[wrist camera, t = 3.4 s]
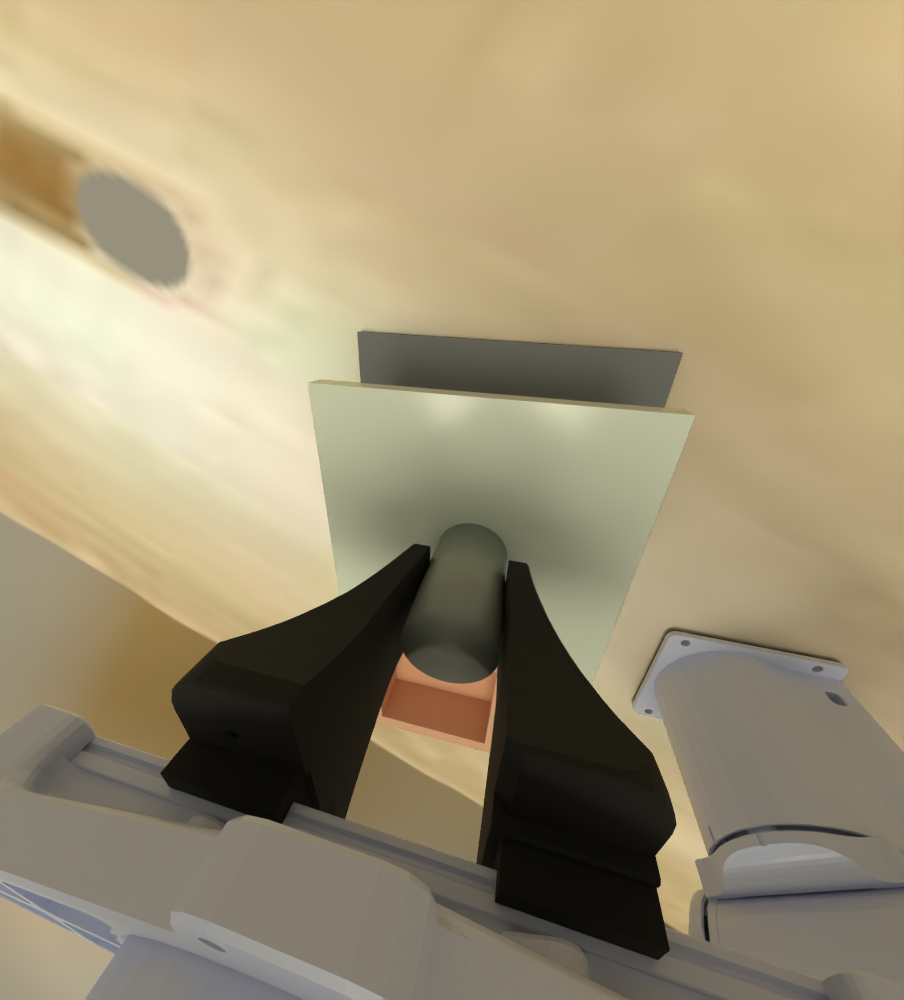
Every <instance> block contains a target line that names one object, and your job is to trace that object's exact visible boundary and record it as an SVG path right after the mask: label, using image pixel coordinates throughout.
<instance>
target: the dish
mask: <svg viewBox="0 0 904 1000" xmlns="http://www.w3.org/2000/svg"><path fill="white" fill-rule="evenodd" d="M496 692H497V668H496V669H495V671H494V672H493V673H492V674H491V675H490V676H488V677H487V678H485V679H483V680H480V681H477V682H473V683H466V684H457V683H449V682H444V681H440V680H437V679H435V678H432V677H430V676H428V675H426V674H424V673H423V672H421V671H420V670H418V669H417V668H416V667H414V666H413V665H412V664H411V663H410V662H409V660H408V659H407V658H406V656H405V655H404V653H403V654H402V656H401V658H400V660H399V662H398V664H397V666H396V669H395V671H394V673H393V676H392V678H391V681H390V684H389V686H388V689H387V692H386V695H385V697H384V700H383V703H382V706H381V709H380V712H379V715H378V717H377V720H376V722H378V723H382V724H386V725H389V726H393V727H397V728H400V729H404V730H408V731H411V732H415V733H419V734H422V735H426V736H430V737H433V738H437V739H441V740H444V741H448V742H452V743H455V744H459V745H463V746H466V747H470V748H474V749H478V750H481V751H485V752H489V753H490V749H491V740H492V732H493V723H494V715H495V706H496Z"/></svg>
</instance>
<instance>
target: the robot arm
mask: <svg viewBox="0 0 904 1000" xmlns="http://www.w3.org/2000/svg"><path fill="white" fill-rule="evenodd" d="M429 562H430V546H426V545H421V544H413V545H412V546H410V547H409V548H408V549H407V550H405V551H404V552H403V553H402V554H400V555H399V556H398V557H396V558H395V559H394V560H393V561H391V562H390V563H389V564H387V565H386V566H385V567H383V568H382V569H381V570H379V571H378V572H377V573H375V574H374V575H372V576H371V577H369V578H368V579H366V580H365V581H363V582H362V583H360V584H359V585H357V586H356V587H354V588H353V589H351V590H349V591H348V592H346V593H344V594H342V595H341V596H339V597H337V598H335V599H333V600H331V601H329V602H327V603H325V604H323V605H321V606H319V607H317V608H314V609H312V610H310V611H308V612H306V613H304V614H301V615H299V616H297V617H294V618H292V619H289V620H287V621H284V622H282V623H279V624H276V625H273V626H271V627H268V628H265V629H262V630H259V631H256V632H252V633H249V634H246V635H242V636H239V637H236V638H233V639H229V640H226V641H222V642H219V643H218V644H217V645H216V646H215V647H214V648H213V649H212V650H211V651H210V652H209V653H208V654H207V655H205V656H204V657H203V658H202V659H201V660H200V661H199V662H198V663H197V664H196V665H195V666H194V667H193V668H192V669H191V670H190V671H189V672H188V673H187V674H186V675H185V676H184V677H183V678H182V679H181V680H180V681H179V682H178V683H177V684H176V685H175V686H174V688H173V689H172V703H173V706H174V709H175V711H176V713H177V714H178V716H179V718H180V720H181V722H182V724H183V726H184V728H185V729H186V731H187V733H188V735H189V737H190V739H189V740H188V741H187V742H186V743H185V745H184V746H183V747H182V748H181V749H180V750H179V752H178V753H177V754H176V755H175V756H174V757H173V759H172V760H168V759H164V758H162V757H158V756H156V755H153V754H150V753H147V752H144V751H141V750H138V749H135V748H132V747H129V746H126V745H123V744H120V743H117V742H114V741H111V740H108V739H105V738H102V737H99V736H96V732H95V730H94V728H93V727H92V725H91V724H90V723H89V722H88V721H87V720H86V719H84V718H83V717H82V716H80V715H78V714H76V713H73V712H70V711H67V710H64V709H61V708H58V707H55V706H52V705H48V704H42V705H39V706H38V707H37V708H35V709H34V710H33V711H31V712H30V713H29V714H28V715H26V716H25V717H24V718H22V719H21V720H19V721H18V722H17V723H15V724H14V725H13V726H11V727H10V728H9V729H7V730H6V731H5V732H3V733H2V734H1V735H0V897H1V898H3V899H6V900H8V901H10V902H12V903H14V904H16V905H18V906H20V907H22V908H24V909H26V910H28V911H30V912H32V913H34V914H36V915H38V916H40V917H42V918H44V919H46V920H48V921H50V922H52V923H54V924H56V925H58V926H60V927H62V928H64V929H66V930H68V931H70V932H72V933H74V934H76V935H78V936H80V937H82V938H84V939H86V940H88V941H90V942H92V943H94V944H96V945H98V946H100V947H102V948H104V949H106V950H108V951H109V952H111V953H113V954H115V956H114V957H113V959H112V960H111V962H110V963H109V965H108V966H107V968H106V969H105V971H104V972H103V973H102V975H101V976H100V978H99V979H98V981H97V982H96V984H95V985H94V987H93V988H92V990H91V991H90V993H89V994H88V996H87V997H86V999H85V1000H904V752H903V751H902V750H901V749H900V748H899V747H898V746H897V745H896V743H895V742H894V741H893V740H892V739H891V738H890V737H889V735H888V734H887V733H886V732H885V731H884V730H883V729H882V728H881V726H880V725H879V724H878V723H877V722H876V721H875V720H874V718H873V717H872V716H871V715H870V714H869V713H868V712H867V711H866V709H865V708H864V707H863V706H862V705H861V704H860V703H859V701H858V700H857V699H856V698H855V697H854V696H853V695H852V694H851V692H850V691H849V690H848V689H847V688H846V687H845V686H844V684H843V683H842V682H841V681H842V680H843V679H844V678H845V677H846V676H847V674H848V670H847V668H846V667H845V666H844V665H843V664H841V663H839V662H834V661H829V660H824V659H818V658H813V657H808V656H803V655H798V654H792V653H787V652H782V651H777V650H772V649H767V648H761V647H756V646H751V645H746V644H741V643H735V642H730V641H725V640H720V639H715V638H710V637H704V636H699V635H694V634H689V633H684V632H679V631H671V632H669V633H667V635H666V636H665V638H664V640H663V642H662V644H661V646H660V648H659V650H658V652H657V654H656V656H655V658H654V660H653V663H652V665H651V667H650V669H649V671H648V673H647V675H646V677H645V679H644V681H643V683H642V685H641V687H640V689H639V691H638V693H637V695H636V697H635V699H634V701H633V703H632V706H633V709H634V711H635V712H637V713H640V714H644V715H648V716H652V717H657V718H661V719H663V721H664V724H665V727H666V730H667V733H668V736H669V739H670V742H671V745H672V748H673V751H674V754H675V757H676V760H677V763H678V766H679V769H680V772H681V775H682V778H683V781H684V784H685V787H686V790H687V793H688V796H689V799H690V802H691V805H692V808H693V811H694V814H695V817H696V820H697V823H698V826H699V829H700V832H701V835H702V838H703V841H704V844H705V847H706V850H707V853H708V857H706V858H702V859H697V860H696V861H695V863H696V866H697V870H698V873H699V876H700V880H701V883H702V886H703V889H701V890H698V891H696V892H695V893H694V894H693V897H692V899H691V903H690V910H689V935H687V934H684V933H681V932H678V931H675V930H672V929H669V928H666V927H665V925H664V920H663V916H662V911H661V907H660V902H659V897H658V893H657V888H659V886H660V885H661V878H660V874H659V870H658V865H657V861H656V857H655V855H656V854H657V853H658V851H659V850H660V849H661V848H662V847H663V845H664V844H665V843H666V842H667V840H668V839H669V838H670V837H671V835H672V834H673V832H674V829H675V827H676V819H675V813H674V810H673V806H672V803H671V799H670V796H669V793H668V790H667V788H666V785H665V783H664V780H663V778H662V775H661V773H660V770H659V768H658V765H657V763H656V761H655V758H654V756H653V754H652V752H651V751H650V750H649V749H648V748H647V747H646V746H645V745H644V744H643V743H642V742H641V741H640V740H639V739H638V738H637V737H636V736H635V735H634V734H633V733H632V732H631V731H630V730H629V728H628V727H627V726H626V725H625V724H624V723H623V722H622V721H621V720H620V719H619V718H618V717H617V716H616V715H615V713H614V712H613V711H612V710H611V709H610V708H609V706H608V705H607V704H606V703H605V702H604V701H603V699H602V698H601V697H600V696H599V694H598V693H597V692H596V690H595V689H594V688H593V686H592V685H591V684H590V683H589V681H588V680H587V679H586V677H585V676H584V675H583V673H582V672H581V671H580V669H579V668H578V666H577V665H576V663H575V662H574V661H573V659H572V658H571V656H570V655H569V653H568V651H567V650H566V648H565V647H564V645H563V643H562V642H561V640H560V638H559V637H558V635H557V633H556V631H555V629H554V628H553V626H552V624H551V622H550V620H549V618H548V616H547V614H546V612H545V610H544V607H543V605H542V603H541V601H540V598H539V596H538V594H537V591H536V588H535V586H534V583H533V580H532V577H531V573H530V569H529V566H528V565H527V563H522V562H517V561H511V560H509V563H508V569H507V575H506V581H505V591H504V604H503V618H502V631H501V644H500V658H499V663H498V666H497V692H496V706H495V715H494V723H493V732H492V740H491V749H490V757H489V766H488V774H487V782H486V790H485V799H484V807H483V815H482V823H481V831H480V839H479V847H478V855H477V863H473V862H470V861H467V860H464V859H461V858H458V857H455V856H452V855H449V854H446V853H443V852H440V851H437V850H434V849H432V848H429V847H426V846H423V845H419V844H417V843H414V842H411V841H408V840H405V839H402V838H399V837H396V836H393V835H390V834H387V833H384V832H381V831H378V830H375V829H372V828H369V827H366V826H363V825H360V824H357V823H354V822H351V821H349V820H346V819H345V817H346V814H347V811H348V807H349V804H350V801H351V797H352V794H353V791H354V788H355V784H356V781H357V778H358V775H359V772H360V768H361V765H362V762H363V759H364V756H365V753H366V750H367V747H368V744H369V741H370V738H371V735H372V732H373V729H374V726H375V723H376V720H377V717H378V715H379V712H380V709H381V706H382V703H383V700H384V697H385V695H386V692H387V689H388V686H389V684H390V681H391V678H392V676H393V673H394V671H395V669H396V666H397V664H398V662H399V660H400V658H401V656H402V654H403V651H402V648H401V644H400V636H401V632H402V629H403V627H404V624H405V622H406V619H407V617H408V614H409V612H410V609H411V607H412V605H413V602H414V600H415V597H416V595H417V592H418V590H419V587H420V585H421V582H422V580H423V577H424V575H425V572H426V570H427V567H428V565H429ZM683 640H686V641H683ZM656 887H657V888H656Z"/></svg>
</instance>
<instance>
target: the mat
mask: <svg viewBox="0 0 904 1000" xmlns="http://www.w3.org/2000/svg"><path fill="white" fill-rule="evenodd" d="M357 333H358V348H359V363H360V377H361V383H368V384H381V385H393V386H405V387H417V388H429V389H442V390H454V391H466V392H478V393H490V394H502V395H515V396H527V397H539V398H551V399H563V400H576V401H588V402H600V403H612V404H624V405H637V406H649V407H661V408H664V407H665V404H666V401H667V398H668V395H669V392H670V389H671V386H672V383H673V380H674V378H675V375H676V372H677V369H678V366H679V363H680V360H681V357H682V354H683V353H680V352H666V351H650V350H635V349H619V348H604V347H589V346H573V345H558V344H543V343H527V342H512V341H496V340H481V339H466V338H450V337H435V336H420V335H404V334H389V333H373V332H357Z"/></svg>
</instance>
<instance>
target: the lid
mask: <svg viewBox="0 0 904 1000" xmlns="http://www.w3.org/2000/svg"><path fill="white" fill-rule="evenodd" d="M308 387H309V394H310V401H311V408H312V414H313V421H314V428H315V434H316V441H317V448H318V455H319V461H320V468H321V475H322V482H323V488H324V495H325V502H326V508H327V515H328V522H329V529H330V535H331V542H332V549H333V556H334V562H335V569H336V576H337V582H338V589H339V596H341V595H342V594H344V593H346V592H348V591H349V590H351V589H353V588H354V587H356V586H357V585H359V584H360V583H362V582H363V581H365V580H366V579H368V578H369V577H371V576H372V575H374V574H375V573H377V572H378V571H379V570H381V569H382V568H383V567H385V566H386V565H387V564H389V563H390V562H391V561H393V560H394V559H395V558H396V557H398V556H399V555H400V554H402V553H403V552H404V551H405V550H407V549H408V548H409V547H410V546H412V545H413V544H421V545H426V546H430V562H429V565H428V567H427V570H426V572H425V575H424V577H423V580H422V582H421V585H420V587H419V590H418V592H417V595H416V597H415V600H414V602H413V605H412V607H411V609H410V612H409V614H408V617H407V619H406V622H405V624H404V627H403V629H402V632H401V636H400V644H401V648H402V651H403V653H404V655H405V656H406V658H407V659H408V660H409V662H410V663H411V664H412V665H413V666H414V667H416V668H417V669H418V670H420V671H421V672H423V673H424V674H426V675H428V676H430V677H432V678H435V679H437V680H440V681H444V682H449V683H457V684H466V683H473V682H477V681H480V680H483V679H485V678H487V677H488V676H490V675H491V674H492V673H493V672H494V671H495V669H496V668H497V666H498V663H499V658H500V644H501V631H502V618H503V604H504V591H505V581H506V575H507V569H508V563H509V560H511V561H517V562H522V563H527V565H528V566H529V569H530V573H531V577H532V580H533V583H534V586H535V588H536V591H537V594H538V596H539V598H540V601H541V603H542V605H543V607H544V610H545V612H546V614H547V616H548V618H549V620H550V622H551V624H552V626H553V628H554V629H555V631H556V633H557V635H558V637H559V638H560V640H561V642H562V643H563V645H564V647H565V648H566V650H567V651H568V653H569V655H570V656H571V658H572V659H573V661H574V662H575V663H576V665H577V666H578V668H579V669H580V671H581V672H582V673H583V675H584V676H585V677H586V679H587V680H588V681H593V680H594V677H595V675H596V672H597V670H598V667H599V664H600V662H601V659H602V657H603V654H604V651H605V649H606V646H607V644H608V641H609V638H610V636H611V633H612V631H613V628H614V626H615V623H616V620H617V618H618V615H619V613H620V610H621V607H622V605H623V602H624V600H625V597H626V594H627V592H628V589H629V587H630V584H631V582H632V579H633V576H634V574H635V571H636V569H637V566H638V563H639V561H640V558H641V556H642V553H643V550H644V548H645V545H646V543H647V540H648V538H649V535H650V532H651V530H652V527H653V525H654V522H655V519H656V517H657V514H658V512H659V509H660V506H661V504H662V501H663V499H664V496H665V494H666V491H667V488H668V486H669V483H670V481H671V478H672V475H673V473H674V470H675V468H676V465H677V462H678V460H679V457H680V455H681V452H682V450H683V447H684V444H685V442H686V439H687V437H688V434H689V431H690V429H691V426H692V424H693V421H694V418H695V416H696V415H694V414H692V413H690V412H688V411H686V410H684V409H673V408H661V407H649V406H637V405H624V404H612V403H600V402H588V401H576V400H563V399H551V398H539V397H527V396H515V395H502V394H490V393H478V392H466V391H454V390H442V389H429V388H417V387H405V386H393V385H381V384H368V383H356V382H344V381H332V380H317V381H313V382H309V383H308Z"/></svg>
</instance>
